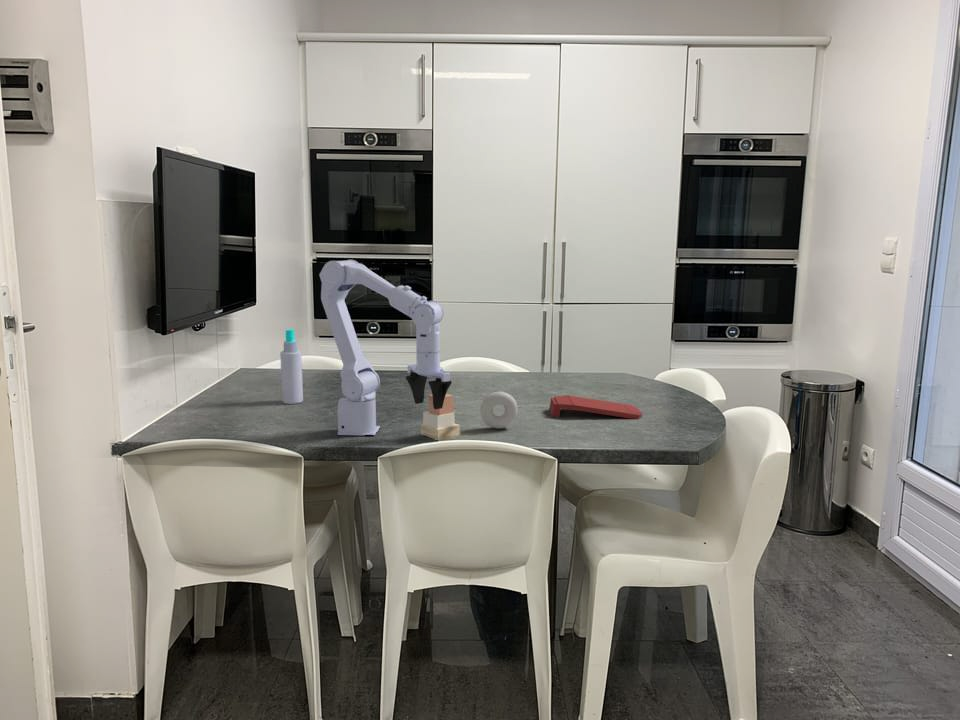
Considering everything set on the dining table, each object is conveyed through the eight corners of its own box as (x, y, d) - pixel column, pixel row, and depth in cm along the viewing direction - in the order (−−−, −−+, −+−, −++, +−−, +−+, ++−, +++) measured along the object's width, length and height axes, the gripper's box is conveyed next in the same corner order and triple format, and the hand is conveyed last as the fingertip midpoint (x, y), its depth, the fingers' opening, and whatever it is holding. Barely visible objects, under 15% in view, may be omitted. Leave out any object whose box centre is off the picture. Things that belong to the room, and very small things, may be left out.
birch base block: (438, 442, 180) (438, 429, 180) (421, 436, 185) (420, 424, 185) (459, 437, 185) (459, 425, 184) (442, 431, 190) (442, 419, 189)
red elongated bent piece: (631, 421, 215) (548, 408, 214) (634, 405, 215) (551, 392, 214) (640, 432, 203) (552, 419, 202) (644, 415, 203) (555, 402, 202)
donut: (480, 430, 190) (480, 393, 188) (479, 427, 193) (479, 390, 191) (518, 429, 191) (519, 392, 189) (516, 426, 194) (516, 389, 192)
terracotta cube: (439, 415, 181) (439, 398, 180) (428, 412, 184) (428, 395, 183) (453, 412, 184) (453, 395, 183) (442, 409, 187) (442, 392, 186)
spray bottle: (297, 405, 217) (294, 331, 213) (278, 404, 218) (275, 330, 214) (306, 400, 222) (303, 328, 219) (288, 399, 224) (285, 328, 220)
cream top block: (437, 428, 181) (437, 416, 180) (423, 424, 185) (423, 412, 184) (454, 424, 184) (454, 412, 184) (440, 420, 188) (440, 408, 188)
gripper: (459, 353, 175) (459, 408, 177) (423, 346, 186) (423, 398, 188) (436, 356, 170) (437, 413, 173) (400, 349, 181) (401, 402, 183)
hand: (428, 405), depth 180 cm, fingers open, 7 cm apart
